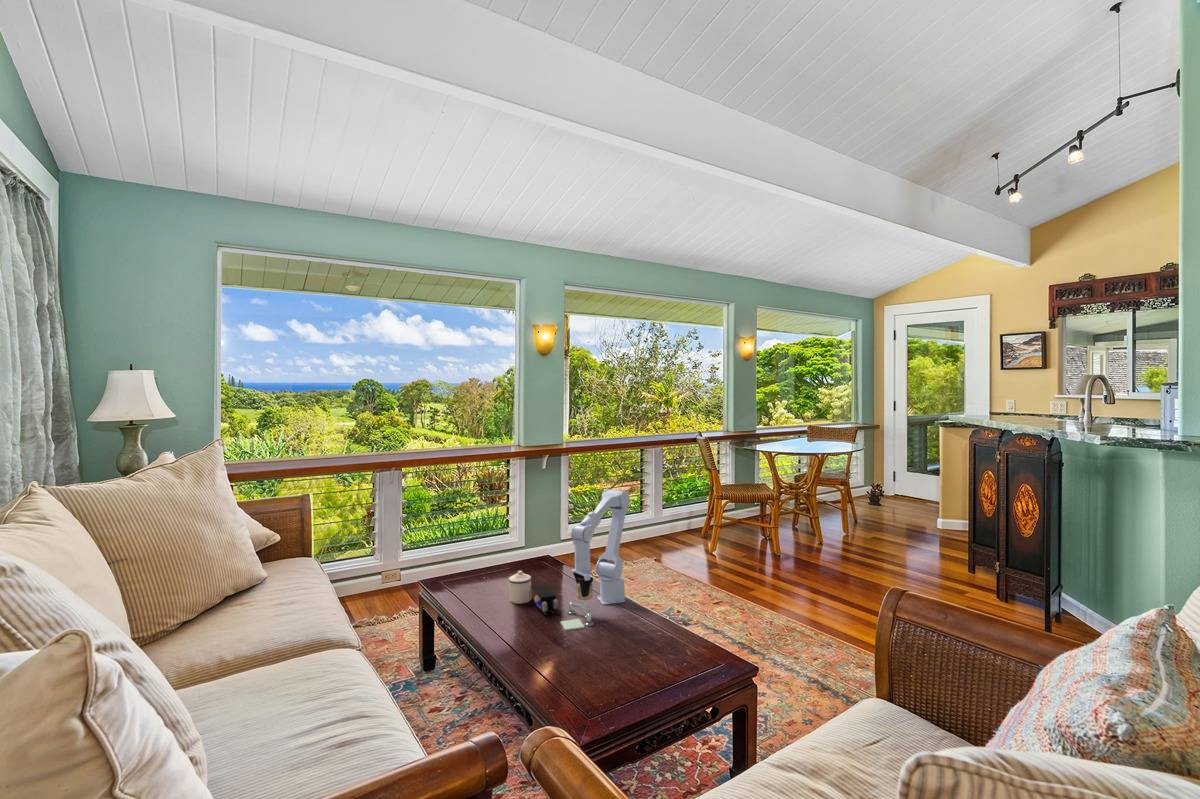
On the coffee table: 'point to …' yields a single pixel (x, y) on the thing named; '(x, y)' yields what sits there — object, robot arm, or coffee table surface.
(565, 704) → the coffee table surface
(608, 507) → the robot arm
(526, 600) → the teacup with lid
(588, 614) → the grey piece
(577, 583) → the maple ring
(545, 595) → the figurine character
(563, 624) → the pad
